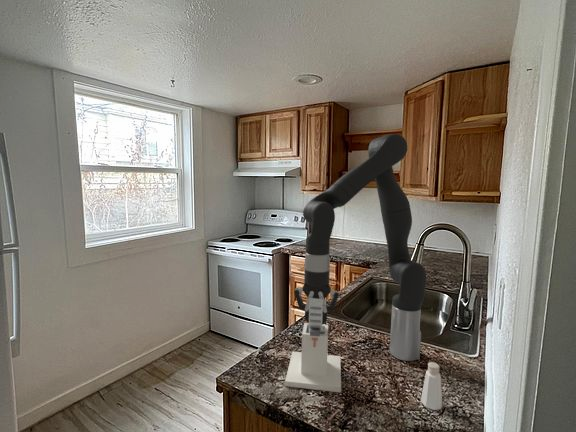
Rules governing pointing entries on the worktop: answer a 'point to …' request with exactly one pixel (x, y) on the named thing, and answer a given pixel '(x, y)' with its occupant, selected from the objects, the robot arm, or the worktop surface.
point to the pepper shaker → (432, 388)
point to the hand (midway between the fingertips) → (315, 322)
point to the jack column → (315, 314)
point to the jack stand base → (314, 363)
